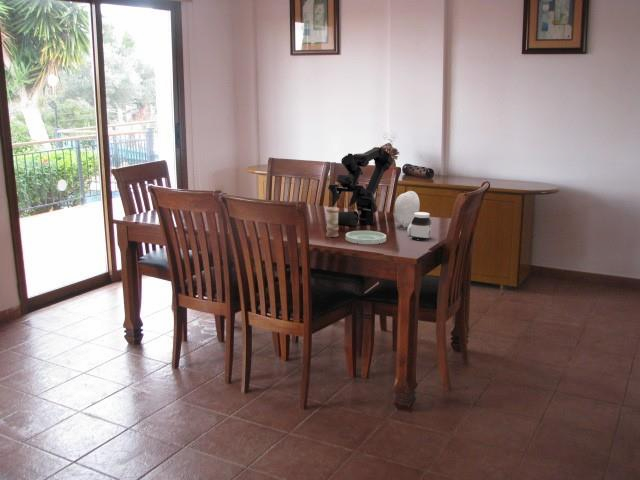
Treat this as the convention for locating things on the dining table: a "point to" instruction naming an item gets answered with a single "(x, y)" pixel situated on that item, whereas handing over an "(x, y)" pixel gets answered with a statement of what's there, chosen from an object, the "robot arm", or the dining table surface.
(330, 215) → the bead tower
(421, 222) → the spread jar
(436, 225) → the dining table surface
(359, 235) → the round tray
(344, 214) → the drinking cup
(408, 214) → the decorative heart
